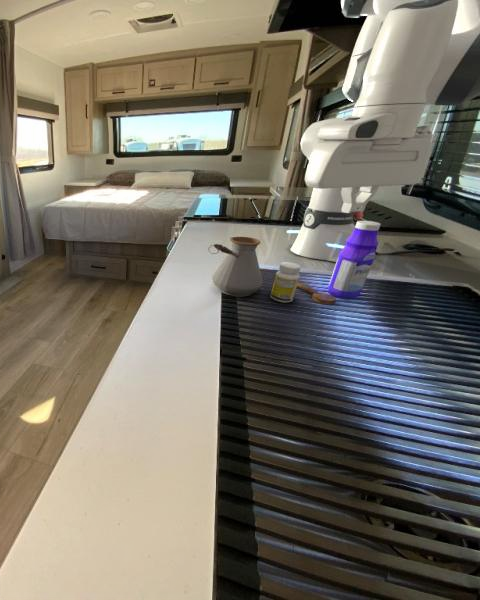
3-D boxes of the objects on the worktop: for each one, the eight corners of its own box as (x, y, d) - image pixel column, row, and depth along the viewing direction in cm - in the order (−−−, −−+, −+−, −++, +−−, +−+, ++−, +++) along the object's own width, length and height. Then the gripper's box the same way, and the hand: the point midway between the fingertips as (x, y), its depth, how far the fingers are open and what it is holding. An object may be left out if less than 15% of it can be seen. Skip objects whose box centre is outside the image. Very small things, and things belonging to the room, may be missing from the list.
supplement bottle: (279, 293, 81) (288, 260, 77) (297, 300, 77) (308, 266, 73) (265, 296, 79) (274, 263, 75) (282, 304, 75) (293, 270, 71)
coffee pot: (223, 277, 90) (234, 222, 83) (267, 290, 82) (283, 230, 76) (179, 302, 77) (188, 239, 70) (227, 319, 69) (242, 251, 63)
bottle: (345, 302, 76) (374, 227, 68) (320, 292, 81) (345, 221, 73) (364, 296, 78) (394, 223, 71) (339, 287, 83) (365, 218, 75)
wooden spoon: (272, 277, 90) (273, 273, 89) (287, 276, 90) (288, 272, 90) (322, 305, 75) (323, 300, 74) (339, 303, 75) (341, 299, 75)
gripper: (415, 126, 58) (384, 206, 64) (310, 128, 55) (289, 211, 62) (457, 124, 52) (419, 213, 59) (342, 127, 50) (315, 218, 56)
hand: (351, 212), depth 60 cm, fingers closed
